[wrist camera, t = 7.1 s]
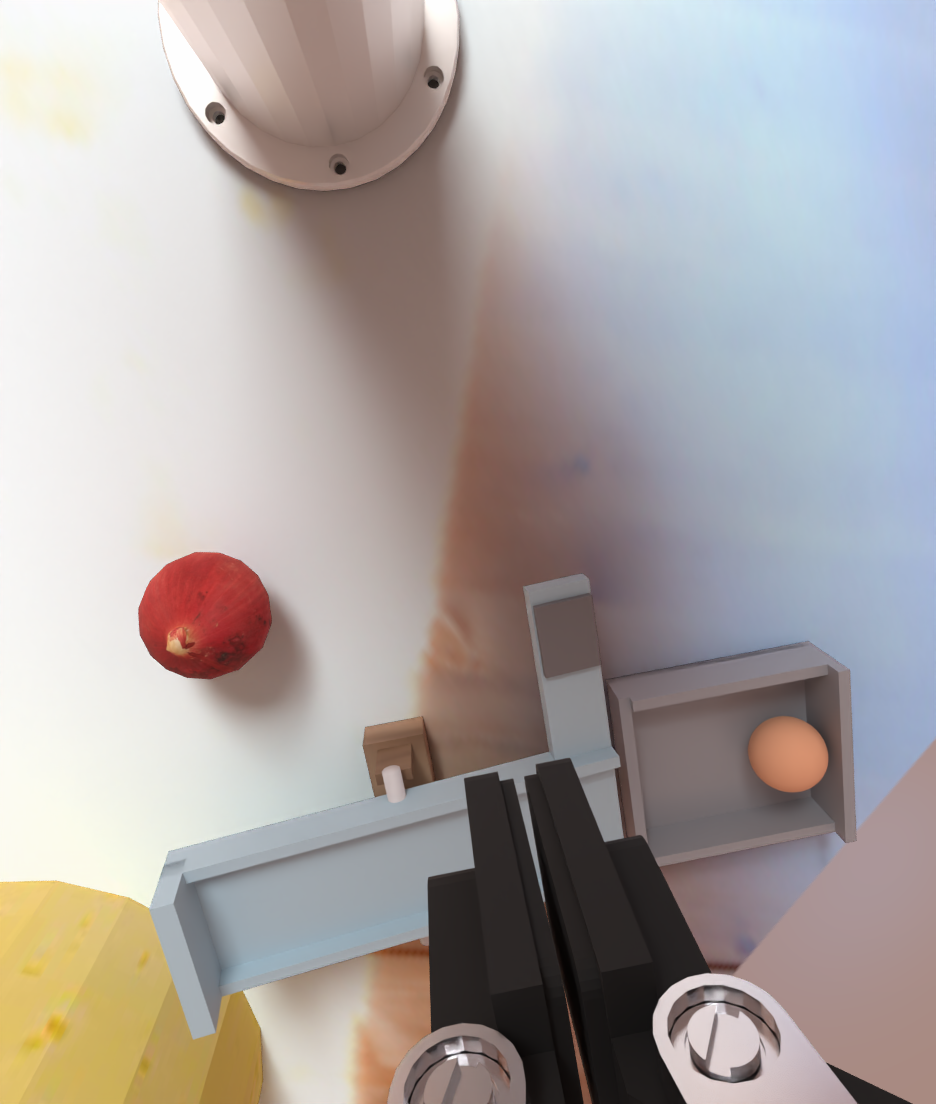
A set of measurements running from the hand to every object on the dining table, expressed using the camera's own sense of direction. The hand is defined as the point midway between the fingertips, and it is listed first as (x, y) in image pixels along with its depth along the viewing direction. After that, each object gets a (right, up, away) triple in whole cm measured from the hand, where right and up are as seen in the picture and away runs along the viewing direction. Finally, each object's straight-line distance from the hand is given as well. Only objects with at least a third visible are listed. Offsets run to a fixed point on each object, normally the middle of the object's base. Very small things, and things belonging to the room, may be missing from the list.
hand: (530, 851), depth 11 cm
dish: (+13, -6, +31) cm, 34 cm away
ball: (+15, -7, +27) cm, 32 cm away
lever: (-5, -7, +25) cm, 26 cm away
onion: (-13, +3, +26) cm, 30 cm away
